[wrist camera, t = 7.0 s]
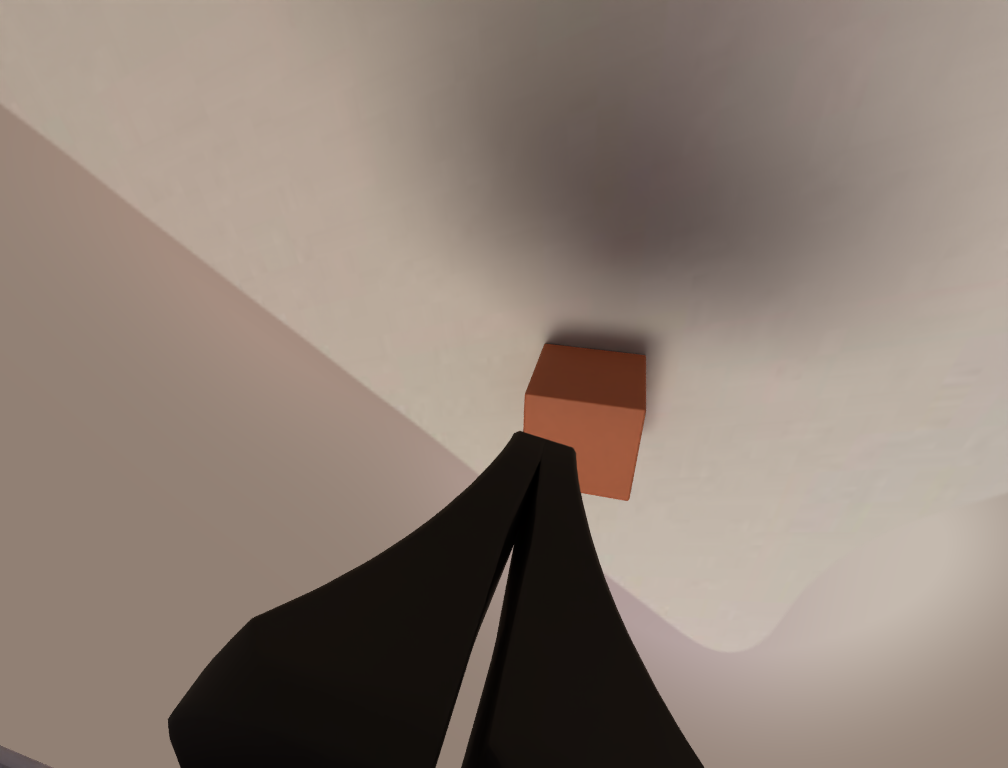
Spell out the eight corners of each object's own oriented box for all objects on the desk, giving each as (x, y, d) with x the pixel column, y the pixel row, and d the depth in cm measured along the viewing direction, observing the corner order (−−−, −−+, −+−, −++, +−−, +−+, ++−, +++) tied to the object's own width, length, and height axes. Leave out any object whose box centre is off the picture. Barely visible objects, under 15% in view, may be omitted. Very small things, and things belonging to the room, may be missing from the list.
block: (631, 437, 22) (628, 502, 18) (539, 423, 22) (520, 483, 19) (645, 354, 20) (646, 410, 16) (544, 342, 20) (524, 393, 17)
